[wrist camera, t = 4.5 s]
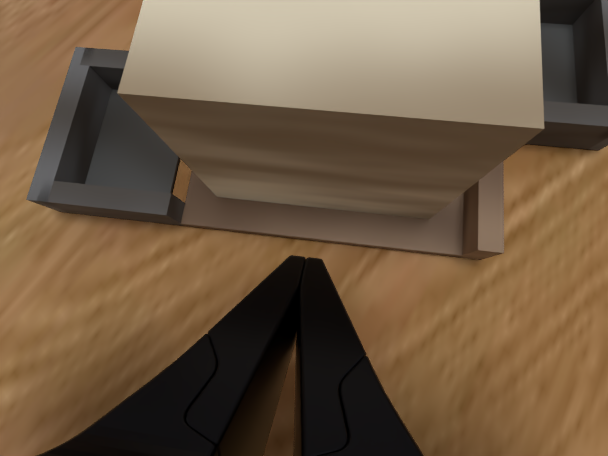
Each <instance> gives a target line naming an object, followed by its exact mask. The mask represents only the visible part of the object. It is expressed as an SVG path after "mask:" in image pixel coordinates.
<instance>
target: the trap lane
mask: <svg viewBox="0 0 608 456" xmlns="http://www.w3.org/2000/svg"><path fill="white" fill-rule="evenodd" d="M540 26H541V52H542V79H543V106H544V129H543V130H542V131H541V132H540V133H538V134H537V135H536V136H535V137H533V138H532V139H531V140H530V141H528V142H527V143H526V144H532V145H544V146H555V147H567V148H578V149H590V150H600V149H602V148H604V147H606V146H607V145H608V0H540ZM128 53H129V51H123V50H109V49H95V48H81V47H76V48H75V51H74V54H73V57H72V60H71V63H70V66H69V70H68V73H67V76H66V79H65V82H64V85H63V88H62V91H61V94H60V97H59V100H58V103H57V107H56V110H55V113H54V116H53V119H52V122H51V125H50V128H49V131H48V134H47V137H46V140H45V144H44V147H43V150H42V153H41V156H40V159H39V162H38V165H37V168H36V171H35V174H34V177H33V181H32V184H31V187H30V190H29V193H28V196H27V199H26V200H29V201H32V202H35V203H37V204H40V205H43V206H46V207H49V208H51V209H54V210H57V211H60V212H67V213H75V214H84V215H93V216H102V217H110V218H119V219H128V220H137V221H145V222H154V223H163V224H172V225H181V226H189V227H198V228H207V229H216V230H224V231H233V232H242V233H251V234H260V235H268V236H277V237H286V238H295V239H303V240H312V241H321V242H330V243H338V244H347V245H356V246H365V247H374V248H382V249H391V250H400V251H409V252H417V253H426V254H435V255H444V256H452V257H461V258H470V259H479V260H481V259H485V258H488V257H492V256H495V255H499V254H502V253H504V186H503V162H502V163H500V164H499V165H498V166H496V167H495V168H494V169H493V170H491V171H490V172H489V173H488V174H486V175H485V176H484V177H483V178H481V179H480V180H479V181H477V182H476V183H475V184H474V185H472V186H471V187H470V188H469V189H467V190H466V191H465V192H463V193H462V194H461V195H460V196H458V197H457V198H456V199H455V200H453V201H452V202H451V203H449V204H448V205H447V206H446V207H444V208H443V209H442V210H441V211H439V212H438V213H437V214H436V215H434V216H433V217H432V218H430V219H421V218H412V217H403V216H393V215H384V214H374V213H365V212H356V211H346V210H337V209H327V208H318V207H308V206H299V205H290V204H280V203H271V202H261V201H252V200H242V199H233V198H224V197H217V196H216V195H215V194H214V193H213V192H212V191H211V190H210V189H209V188H208V187H207V186H206V185H205V184H204V183H203V182H202V181H201V180H200V178H199V177H198V176H197V175H196V174H195V173H194V172H193V171H192V173H191V178H190V182H189V187H188V192H187V197H186V201H185V203H184V202H182V201H181V200H180V199H178V198H177V197H176V196H174V195H173V194H172V192H173V187H174V183H175V178H176V174H177V170H178V165H179V161H180V158H179V157H178V156H177V155H176V154H175V153H174V152H173V151H172V149H171V148H170V147H169V146H168V145H167V144H166V143H165V142H164V141H163V140H162V139H161V138H160V137H159V136H158V135H157V134H156V133H155V132H154V131H153V130H152V129H151V128H150V127H149V126H148V125H147V124H146V123H145V121H144V120H143V119H142V118H141V117H140V116H139V115H138V114H137V113H136V112H135V111H134V110H133V109H132V108H131V107H130V106H129V105H128V104H127V103H126V102H125V101H124V100H123V99H122V98H121V97H120V96H119V95H118V93H117V92H118V89H119V85H120V82H121V78H122V75H123V71H124V68H125V64H126V60H127V57H128Z"/></svg>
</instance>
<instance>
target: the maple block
mask: <svg viewBox="0 0 608 456" xmlns="http://www.w3.org/2000/svg"><path fill="white" fill-rule="evenodd" d="M117 93H118V95H119V96H120V97H121V98H122V99H123V100H124V101H125V102H126V103H127V104H128V105H129V106H130V107H131V108H132V109H133V110H134V111H135V112H136V113H137V114H138V115H139V116H140V117H141V118H142V119H143V120H144V121H145V123H146V124H147V125H148V126H149V127H150V128H151V129H152V130H153V131H154V132H155V133H156V134H157V135H158V136H159V137H160V138H161V139H162V140H163V141H164V142H165V143H166V144H167V145H168V146H169V147H170V148H171V149H172V151H173V152H174V153H175V154H176V155H177V156H178V157H179V158H180V159H181V160H182V161H183V162H184V163H185V164H186V165H187V166H188V167H189V168H190V169H191V170H192V171H193V172H194V173H195V174H196V175H197V176H198V177H199V178H200V180H201V181H202V182H203V183H204V184H205V185H206V186H207V187H208V188H209V189H210V190H211V191H212V192H213V193H214V194H215V195H216V196H217V197H224V198H233V199H242V200H252V201H261V202H271V203H280V204H290V205H299V206H308V207H318V208H327V209H337V210H346V211H356V212H365V213H374V214H384V215H393V216H403V217H412V218H421V219H430V218H432V217H433V216H434V215H436V214H437V213H438V212H439V211H441V210H442V209H443V208H444V207H446V206H447V205H448V204H449V203H451V202H452V201H453V200H455V199H456V198H457V197H458V196H460V195H461V194H462V193H463V192H465V191H466V190H467V189H469V188H470V187H471V186H472V185H474V184H475V183H476V182H477V181H479V180H480V179H481V178H483V177H484V176H485V175H486V174H488V173H489V172H490V171H491V170H493V169H494V168H495V167H496V166H498V165H499V164H500V163H502V162H503V161H504V160H505V159H507V158H508V157H509V156H510V155H512V154H513V153H514V152H516V151H517V150H518V149H519V148H521V147H522V146H523V145H524V144H526V143H527V142H528V141H530V140H531V139H532V138H533V137H535V136H536V135H537V134H538V133H540V132H541V131H542V130H543V129H544V106H543V79H542V52H541V26H540V0H143V4H142V7H141V11H140V14H139V18H138V21H137V25H136V29H135V32H134V36H133V39H132V43H131V46H130V50H129V53H128V57H127V60H126V64H125V68H124V71H123V75H122V78H121V82H120V85H119V89H118V92H117Z"/></svg>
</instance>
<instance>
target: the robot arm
mask: <svg viewBox="0 0 608 456" xmlns="http://www.w3.org/2000/svg"><path fill="white" fill-rule="evenodd" d="M296 335H297V337H296ZM295 340H296V363H295V408H294V452H293V456H424V455H423V453H422V452H421V450H420V449H419V447H418V445H417V444H416V442H415V441H414V439H413V437H412V436H411V434H410V433H409V431H408V429H407V428H406V426H405V425H404V423H403V421H402V420H401V418H400V416H399V415H398V413H397V411H396V410H395V408H394V406H393V405H392V403H391V401H390V399H389V398H388V396H387V394H386V393H385V391H384V389H383V387H382V385H381V383H380V381H379V379H378V377H377V375H376V373H375V371H374V369H373V367H372V365H371V363H370V360H369V358H368V357H367V356H366V352H365V350H364V348H363V346H362V344H361V341H360V339H359V337H358V335H357V333H356V331H355V329H354V327H353V324H352V322H351V320H350V318H349V316H348V314H347V312H346V309H345V307H344V305H343V303H342V301H341V299H340V297H339V294H338V292H337V290H336V288H335V286H334V284H333V282H332V279H331V277H330V275H329V273H328V271H327V269H326V267H325V264H324V262H323V260H322V259H318V258H310V257H308V258H307V259H305V257H302V256H293V255H291V256H289V257H288V258H287V259H286V260H285V261H284V262H283V263H282V264H281V265H279V266H278V267H277V268H276V269H275V270H274V271H273V272H272V273H271V274H270V275H269V276H268V277H267V278H265V279H264V280H263V281H262V282H261V283H260V284H259V285H258V286H257V287H256V288H255V289H254V290H253V291H251V292H250V293H249V294H248V295H247V296H246V297H245V298H244V299H243V300H242V301H241V302H240V303H239V304H237V305H236V306H235V307H234V308H233V309H232V310H231V311H230V312H229V313H228V314H227V315H226V316H224V317H223V318H222V319H221V320H220V321H219V322H218V323H217V324H216V325H215V326H214V327H213V328H212V329H210V330H209V331H208V334H205V335H204V336H203V337H202V338H201V339H199V340H198V341H197V342H196V343H195V344H194V345H193V346H192V347H191V348H190V349H188V350H187V351H186V352H185V353H184V354H183V355H182V356H180V357H179V358H178V359H177V360H176V361H175V362H173V363H172V364H171V365H170V366H168V367H167V368H166V369H165V370H163V371H162V372H161V373H159V374H158V375H157V376H156V377H154V378H153V379H152V380H151V381H149V382H148V383H147V384H145V385H144V386H143V387H141V388H140V389H139V390H137V391H136V392H135V393H133V394H132V395H131V396H129V397H128V398H127V399H125V400H124V401H123V402H121V403H120V404H119V405H118V406H116V407H115V408H114V409H112V410H111V411H110V412H108V413H107V414H106V415H104V416H103V417H102V418H100V419H99V420H98V421H96V422H95V423H94V424H92V425H91V426H90V427H88V428H87V429H85V430H84V431H83V432H81V433H80V434H78V435H76V436H75V437H73V438H72V439H70V440H68V441H66V442H65V443H63V444H61V445H59V446H57V447H55V448H53V449H51V450H49V451H47V452H45V453H42V454H39V455H37V456H263V453H264V450H265V446H266V443H267V439H268V436H269V432H270V429H271V425H272V422H273V418H274V415H275V411H276V408H277V404H278V401H279V397H280V394H281V390H282V387H283V383H284V380H285V376H286V373H287V369H288V366H289V362H290V359H291V355H292V352H293V348H294V344H295Z"/></svg>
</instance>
